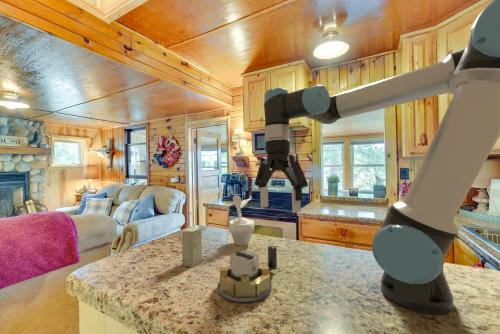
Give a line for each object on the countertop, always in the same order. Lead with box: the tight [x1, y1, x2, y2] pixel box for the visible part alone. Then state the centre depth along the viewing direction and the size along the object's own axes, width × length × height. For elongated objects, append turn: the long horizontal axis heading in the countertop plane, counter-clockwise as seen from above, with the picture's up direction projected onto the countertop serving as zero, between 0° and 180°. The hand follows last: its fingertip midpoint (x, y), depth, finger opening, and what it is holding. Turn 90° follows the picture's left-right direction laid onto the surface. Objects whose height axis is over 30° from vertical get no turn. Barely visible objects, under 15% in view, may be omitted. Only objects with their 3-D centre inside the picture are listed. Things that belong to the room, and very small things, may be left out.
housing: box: [217, 250, 273, 305], centre depth 64 cm, size 15×15×10 cm
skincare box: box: [181, 226, 203, 268], centre depth 82 cm, size 6×4×12 cm
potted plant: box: [228, 190, 255, 247], centre depth 102 cm, size 13×12×25 cm
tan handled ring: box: [219, 245, 278, 297], centre depth 67 cm, size 21×14×7 cm, turn 138°
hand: (279, 209), depth 70 cm, fingers open, 13 cm apart
